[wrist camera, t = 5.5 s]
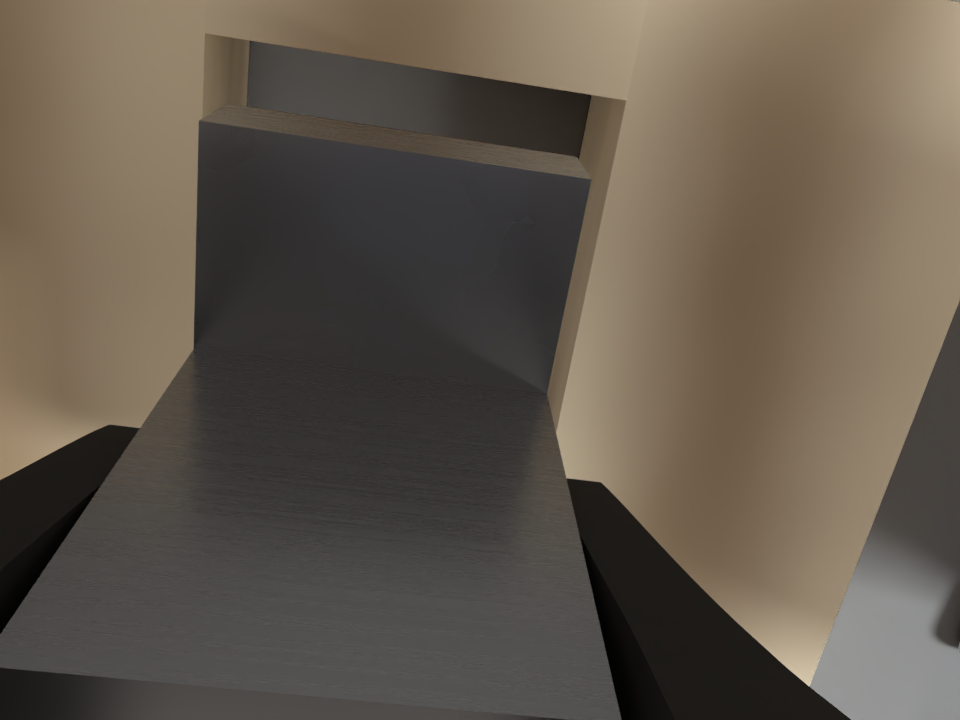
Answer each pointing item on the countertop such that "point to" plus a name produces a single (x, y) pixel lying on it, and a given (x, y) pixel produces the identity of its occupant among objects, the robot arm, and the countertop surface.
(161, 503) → the t bracket
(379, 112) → the countertop surface
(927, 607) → the countertop surface
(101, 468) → the robot arm
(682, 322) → the well block
